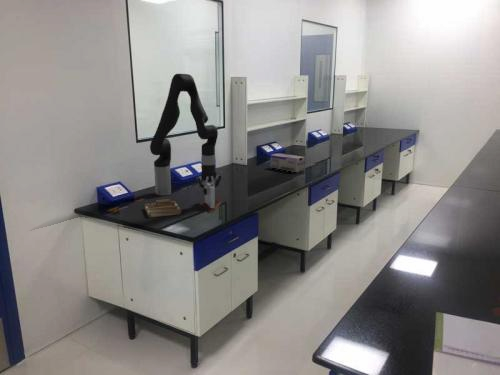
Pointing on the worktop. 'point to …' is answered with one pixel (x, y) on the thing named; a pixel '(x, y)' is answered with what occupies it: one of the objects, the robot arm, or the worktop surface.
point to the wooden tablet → (211, 210)
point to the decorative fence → (116, 210)
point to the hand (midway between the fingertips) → (209, 194)
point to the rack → (162, 210)
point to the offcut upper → (163, 202)
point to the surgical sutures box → (287, 162)
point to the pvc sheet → (210, 196)
